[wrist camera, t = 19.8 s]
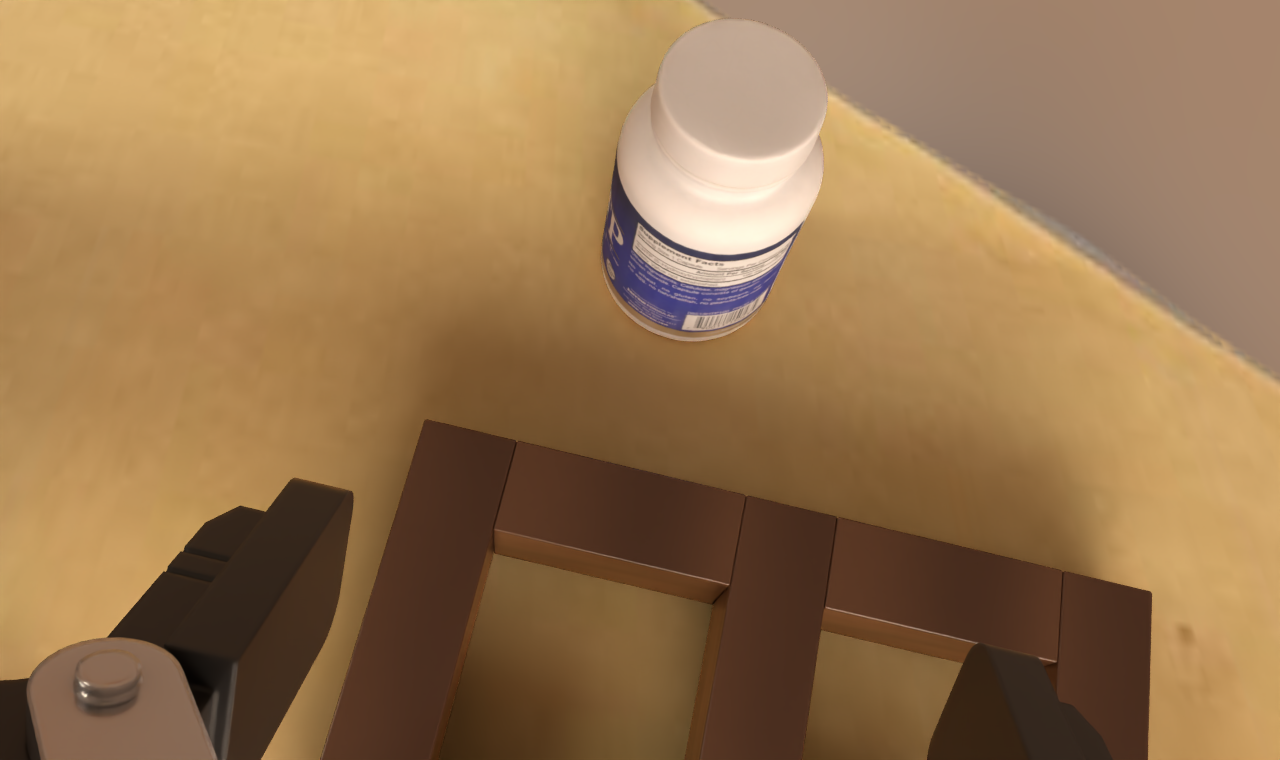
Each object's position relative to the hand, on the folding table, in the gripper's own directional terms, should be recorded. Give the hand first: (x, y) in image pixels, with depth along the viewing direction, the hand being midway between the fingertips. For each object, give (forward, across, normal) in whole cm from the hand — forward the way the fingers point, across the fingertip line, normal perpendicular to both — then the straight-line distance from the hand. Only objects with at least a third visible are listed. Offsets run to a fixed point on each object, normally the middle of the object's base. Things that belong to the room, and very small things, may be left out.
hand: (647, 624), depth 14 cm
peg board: (+11, -4, +10) cm, 16 cm away
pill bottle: (+21, 0, +1) cm, 21 cm away
